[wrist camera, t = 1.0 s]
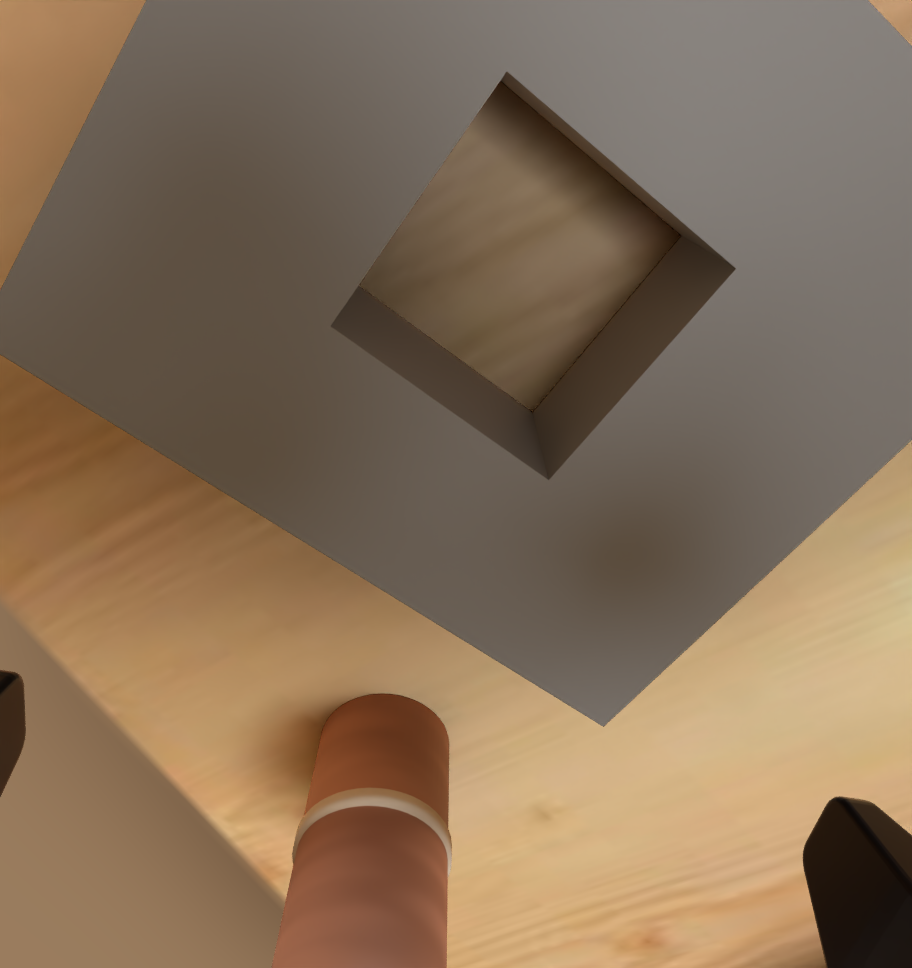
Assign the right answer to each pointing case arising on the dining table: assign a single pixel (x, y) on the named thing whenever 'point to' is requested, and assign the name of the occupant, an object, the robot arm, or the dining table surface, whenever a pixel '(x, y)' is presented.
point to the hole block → (446, 379)
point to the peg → (372, 843)
